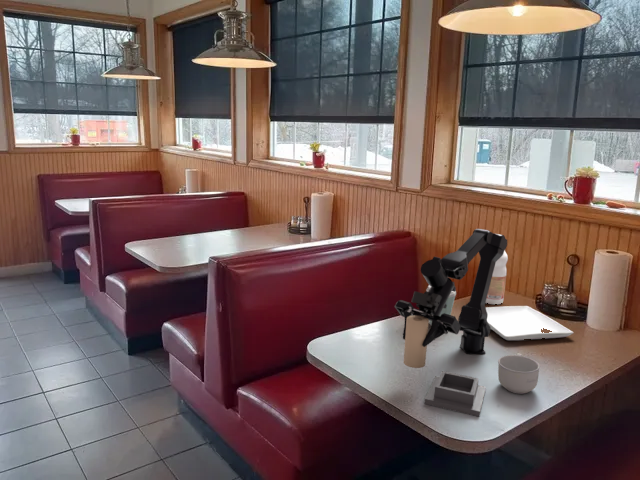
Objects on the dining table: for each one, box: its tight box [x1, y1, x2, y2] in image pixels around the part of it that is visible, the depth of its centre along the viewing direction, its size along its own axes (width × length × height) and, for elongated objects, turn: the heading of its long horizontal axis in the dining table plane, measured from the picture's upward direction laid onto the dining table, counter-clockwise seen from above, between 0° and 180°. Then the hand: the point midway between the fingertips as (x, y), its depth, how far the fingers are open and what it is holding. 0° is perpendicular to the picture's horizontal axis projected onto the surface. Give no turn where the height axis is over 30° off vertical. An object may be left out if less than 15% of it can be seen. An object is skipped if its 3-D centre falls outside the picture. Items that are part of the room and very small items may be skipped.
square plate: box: [485, 305, 574, 341], centre depth 193 cm, size 27×27×4 cm
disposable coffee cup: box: [425, 284, 457, 326], centre depth 191 cm, size 11×11×15 cm
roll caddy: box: [424, 370, 487, 418], centre depth 141 cm, size 14×14×4 cm
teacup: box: [497, 352, 541, 395], centre depth 148 cm, size 14×11×8 cm
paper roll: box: [403, 315, 430, 369], centre depth 145 cm, size 6×6×13 cm
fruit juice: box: [485, 249, 509, 305], centre depth 218 cm, size 9×9×28 cm
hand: (413, 342), depth 144 cm, fingers closed on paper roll, 6 cm apart
